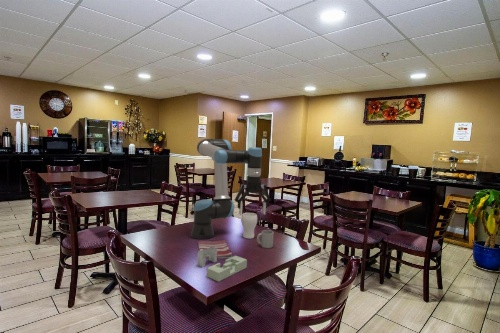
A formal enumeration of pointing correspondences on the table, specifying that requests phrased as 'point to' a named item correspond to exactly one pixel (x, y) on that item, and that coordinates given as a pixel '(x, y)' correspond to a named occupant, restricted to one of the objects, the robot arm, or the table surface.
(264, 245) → the cup
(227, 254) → the dish towel
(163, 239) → the table surface
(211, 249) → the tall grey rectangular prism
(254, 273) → the table surface
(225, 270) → the rail
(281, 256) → the table surface
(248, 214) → the cup
